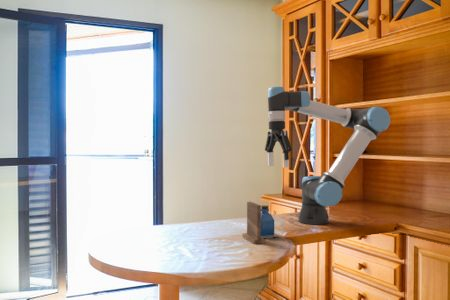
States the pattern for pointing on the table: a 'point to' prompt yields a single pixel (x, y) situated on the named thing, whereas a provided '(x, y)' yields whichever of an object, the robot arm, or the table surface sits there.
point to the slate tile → (270, 236)
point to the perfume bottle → (266, 222)
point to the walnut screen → (253, 224)
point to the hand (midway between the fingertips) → (278, 166)
